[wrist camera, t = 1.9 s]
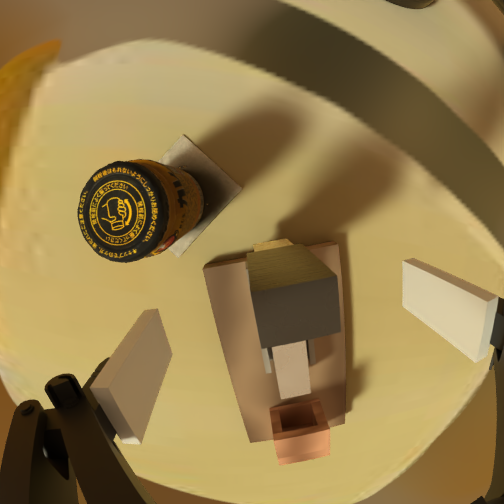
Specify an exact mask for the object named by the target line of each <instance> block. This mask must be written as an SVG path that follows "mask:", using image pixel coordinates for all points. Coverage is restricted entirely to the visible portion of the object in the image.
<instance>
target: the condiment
mask: <svg viewBox="0 0 504 504" xmlns="http://www.w3.org/2000/svg"><path fill="white" fill-rule="evenodd" d="M183 166H187V167H185V168H183ZM179 167H181V169H179ZM241 189H242V188H241V187H240V186H239V185H238V184H237V183H235V181H233V180H232V179H231V178H230V177H229V176H228V175H227V174H226V173H225V172H224V171H223V170H222V169H221V168H219V167H218V166H217V165H216V164H215V163H214V162H213V161H212V160H211V159H210V158H208V157H207V156H206V155H205V154H204V153H203V152H202V151H201V150H200V149H198V148H197V147H196V146H195V145H194V144H193V143H192V142H191V141H189V140H188V139H187V138H186V137H185V136H184V135H182V136H181V137H180V138H179V139H178V140H177V141H176V142H175V143H174V144H173V146H172V147H171V148H170V149H169V150H168V151H167V152H166V153H165V155H164V156H163V157H162V158H161V159H160V160H159V161H158V162H155V161H152V160H142V159H138V160H131V161H128V162H127V161H126V162H123V161H116V162H113V163H111V164H108V165H107V166H105V167H103V168H101V169H99V170H98V171H96V172H95V173H94V174H93V175H92V177H91V178H90V179H89V181H88V182H87V183H86V185H85V187H84V188H83V190H82V192H81V195H80V202H79V207H78V221H79V225H80V228H81V231H82V234H83V236H84V238H85V240H86V241H87V243H88V244H89V245H90V246H91V247H92V248H93V250H94V251H95V252H96V253H97V254H98V255H100V256H101V257H104V258H106V259H108V260H110V261H115V262H125V263H127V262H133V261H137V260H140V259H142V258H146V257H151V256H154V255H157V254H160V253H162V252H163V251H165V250H166V249H167V248H168V249H169V250H170V251H171V252H172V253H173V254H174V255H175V256H177V257H178V258H179V257H180V256H181V255H182V253H183V252H184V251H185V250H186V249H187V248H188V247H189V246H190V244H191V243H192V242H193V241H194V240H195V239H196V238H197V237H198V236H199V234H200V233H201V232H202V231H203V230H204V229H205V228H206V227H207V226H208V225H209V224H210V222H211V221H212V220H213V219H214V218H215V217H216V216H217V215H218V214H219V213H220V212H221V211H222V210H223V208H224V207H225V206H226V205H227V204H228V203H229V202H230V201H231V200H232V199H233V198H234V197H235V196H236V195H237V194H238V193H239V192H240V190H241ZM207 204H208V205H207Z"/></svg>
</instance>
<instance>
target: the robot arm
mask: <svg viewBox="0 0 504 504" xmlns="http://www.w3.org/2000/svg"><path fill="white" fill-rule="evenodd" d="M386 1H389V2H391V3H394V4H397V5H400V6H403V7H407V8H414V9H420V8H424V7H426V6H428V5H429V4H430V3H431V2H433V1H434V0H386ZM492 1H493V2H494V3H495V5H496V6H497V7H498V8H499V10H500V11H501V12H502V13H503V15H504V0H492ZM402 263H403V307H404V308H405V309H406V310H408V311H409V312H411V313H412V314H413V315H415V316H416V317H417V318H419V319H420V320H421V321H422V322H424V323H425V324H426V325H428V326H429V327H430V328H432V329H433V330H434V331H436V332H437V333H438V334H439V335H441V336H442V337H443V338H445V339H446V340H447V341H448V342H450V343H451V344H452V345H454V346H455V347H456V348H457V349H459V350H460V351H461V352H462V353H464V354H465V355H466V356H467V357H469V358H470V359H471V360H472V361H474V362H475V363H477V362H478V361H480V360H482V359H483V358H485V357H486V356H487V354H488V350H489V345H490V344H491V345H493V346H494V347H495V348H494V352H493V356H492V360H491V363H490V367H489V370H491V368H492V366H493V365H494V370H495V380H496V395H497V396H496V397H497V434H496V450H495V460H494V469H493V476H492V482H491V485H490V488H489V490H488V492H487V494H486V496H485V498H483V497H482V496H481V497H479V498H478V499H477V500H475V501H474V502H472V503H471V504H504V299H502V298H500V297H499V296H497V295H495V294H493V293H491V292H489V291H486V290H484V289H482V288H480V287H478V286H476V285H474V284H471V283H469V282H467V281H465V280H463V279H460V278H458V277H456V276H454V275H452V274H449V273H447V272H445V271H442V270H440V269H438V268H436V267H433V266H431V265H429V264H426V263H424V262H421V261H419V260H417V259H414V258H412V259H407V260H403V261H402ZM171 357H172V351H171V348H170V345H169V342H168V340H167V337H166V333H165V330H164V327H163V324H162V321H161V318H160V314H159V311H158V309H151V310H144V312H143V313H142V314H141V316H140V317H139V318H138V320H137V321H136V322H135V324H134V325H133V327H132V328H131V329H130V331H129V332H128V333H127V335H126V336H125V338H124V339H123V340H122V342H121V343H120V344H119V346H118V347H117V349H116V350H115V352H114V353H113V354H112V356H111V357H109V358H106V359H105V360H104V361H103V362H101V363H100V364H99V365H98V367H97V368H96V369H95V372H93V374H92V375H91V377H90V378H89V379H88V381H87V382H86V383H85V385H84V386H83V388H81V386H80V385H79V383H78V381H77V379H76V377H75V376H74V375H73V374H61V375H58V376H56V377H54V378H52V379H51V380H50V381H48V382H47V384H46V385H45V389H44V390H45V392H46V393H47V395H48V397H49V399H50V400H51V402H52V404H53V405H54V407H55V408H53V409H46V410H44V409H43V407H42V406H41V404H40V403H39V401H38V400H28V401H24V402H23V403H20V405H19V406H18V407H17V408H16V410H15V412H14V415H13V419H12V422H11V426H10V429H9V433H8V437H7V441H6V445H5V450H4V454H3V459H2V465H1V470H0V504H79V503H78V495H77V485H76V478H77V480H78V483H79V485H80V488H81V490H82V492H83V495H84V497H85V500H86V501H87V504H156V502H155V501H154V500H153V499H152V497H151V496H150V495H149V493H148V492H147V490H146V489H145V488H144V486H143V485H142V484H141V482H140V481H139V479H138V478H137V476H136V475H135V473H134V472H133V470H132V469H131V467H130V466H129V464H128V463H127V461H126V460H125V458H124V456H123V455H122V453H121V451H120V450H119V448H118V446H117V445H116V443H115V442H114V441H113V440H114V438H115V435H116V433H117V435H118V436H119V438H120V439H121V441H122V442H123V443H126V444H141V443H142V440H143V437H144V434H145V431H146V428H147V425H148V422H149V419H150V416H151V413H152V410H153V408H154V405H155V402H156V399H157V396H158V393H159V390H160V388H161V385H162V382H163V379H164V376H165V374H166V371H167V368H168V365H169V363H170V360H171Z"/></svg>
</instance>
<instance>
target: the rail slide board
mask: <svg viewBox="0 0 504 504" xmlns="http://www.w3.org/2000/svg"><path fill="white" fill-rule="evenodd" d="M305 247H306V248H307V249H308V250H310V251H311V252H312V253H313V254H314V255H315V256H316V257H317V258H319V259H320V260H321V261H322V262H323V263H324V264H325V265H326V266H327V267H329V268H330V269H331V270H332V271H333V272H334V273H335V274H336V275H337V278H338V290H339V303H340V319H341V332H340V333H336V334H332V335H328V336H323V337H319V338H315V339H310V340H306V348H307V358H308V368H309V378H310V389H311V393H309V394H305V395H300V396H296V397H291V398H286V399H281V397H280V392H279V387H278V382H277V376H276V370H275V365H274V359H273V354H272V348H271V347H270V348H265V349H261V344H260V339H259V334H258V329H257V324H256V319H255V314H254V309H253V304H252V298H251V293H250V284H249V274H248V264H247V257H244V258H239V259H233V260H228V261H222V262H217V263H211V264H206V265H204V267H203V272H204V277H205V281H206V285H207V290H208V294H209V298H210V302H211V306H212V310H213V314H214V318H215V322H216V326H217V330H218V334H219V338H220V341H221V345H222V349H223V353H224V356H225V360H226V364H227V367H228V371H229V374H230V378H231V381H232V385H233V388H234V392H235V395H236V398H237V402H238V405H239V408H240V412H241V415H242V418H243V421H244V425H245V428H246V431H247V434H248V437H249V440H250V443H252V442H260V441H266V440H274V444H275V449H276V453H277V457H278V461H279V465H285V464H291V463H296V462H301V461H306V460H310V459H315V458H319V457H323V456H327V455H330V427H334V426H337V425H341V424H345V405H346V350H345V322H344V303H343V289H342V276H341V265H340V255H339V245H338V244H337V243H335V242H334V241H331V242H326V243H321V244H315V245H310V246H305Z"/></svg>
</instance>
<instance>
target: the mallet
mask: <svg viewBox="0 0 504 504" xmlns="http://www.w3.org/2000/svg"><path fill="white" fill-rule="evenodd" d="M253 247H254V252H250V253H246V254H247V264H248V274H249V284H250V293H251V298H252V304H253V309H254V314H255V319H256V324H257V329H258V334H259V339H260V344H261V349H265V348H270V347H271V348H272V354H273V359H274V365H275V370H276V376H277V382H278V387H279V392H280V397H281V399H286V398H291V397H296V396H300V395H305V394H309V393H311V389H310V378H309V368H308V358H307V348H306V340H310V339H315V338H319V337H323V336H328V335H332V334H336V333H340V332H341V319H340V303H339V290H338V278H337V275H336V274H335V273H334V272H333V271H332V270H331V269H330V268H329V267H327V266H326V265H325V264H324V263H323V262H322V261H321V260H320V259H319V258H317V257H316V256H315V255H314V254H313V253H312V252H311V251H310V250H308V249H307V248H306V247H305V246H304V245H303V244H302V243H300V244H294V245H293V244H292V243H291V242H290V241H289V240H288V239H287V238H286V239H280V240H275V241H269V242H263V243H258V244H253Z"/></svg>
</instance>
